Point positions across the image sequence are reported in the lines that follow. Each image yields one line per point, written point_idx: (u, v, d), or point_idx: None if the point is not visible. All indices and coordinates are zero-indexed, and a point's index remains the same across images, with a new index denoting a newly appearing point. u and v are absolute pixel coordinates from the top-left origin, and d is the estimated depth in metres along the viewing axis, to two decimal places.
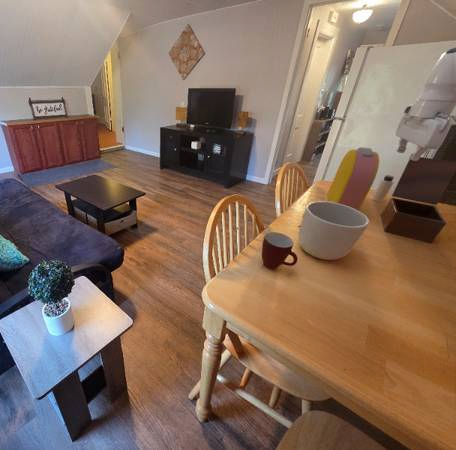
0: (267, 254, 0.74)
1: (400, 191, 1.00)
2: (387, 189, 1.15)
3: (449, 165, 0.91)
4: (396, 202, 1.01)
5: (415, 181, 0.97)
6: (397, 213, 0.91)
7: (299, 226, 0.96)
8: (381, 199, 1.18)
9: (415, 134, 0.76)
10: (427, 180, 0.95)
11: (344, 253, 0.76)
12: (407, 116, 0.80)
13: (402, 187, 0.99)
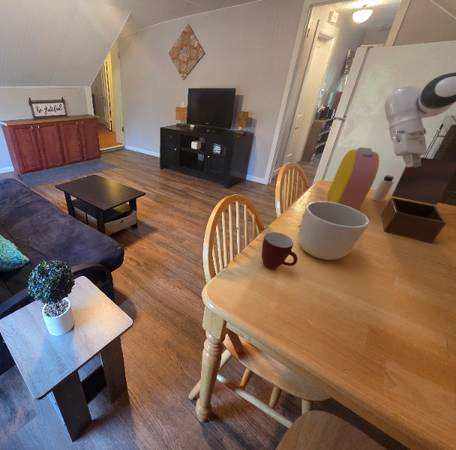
0: (267, 254, 0.74)
1: (400, 191, 1.00)
2: (387, 189, 1.15)
3: (448, 165, 0.91)
4: (396, 202, 1.01)
5: (415, 181, 0.97)
6: (397, 213, 0.91)
7: (299, 226, 0.96)
8: (381, 199, 1.18)
9: None
10: (427, 179, 0.95)
11: (344, 253, 0.76)
12: None
13: (402, 187, 0.99)
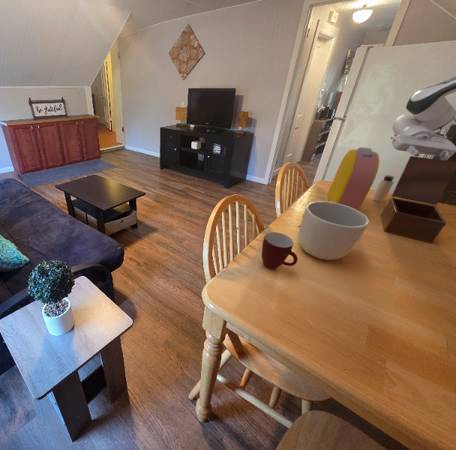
0: (267, 254, 0.74)
1: (400, 191, 1.00)
2: (387, 189, 1.15)
3: (448, 165, 0.92)
4: (396, 202, 1.01)
5: (415, 181, 0.97)
6: (397, 213, 0.91)
7: (299, 226, 0.96)
8: (381, 199, 1.18)
9: None
10: (427, 179, 0.95)
11: (344, 253, 0.76)
12: None
13: (402, 187, 0.99)
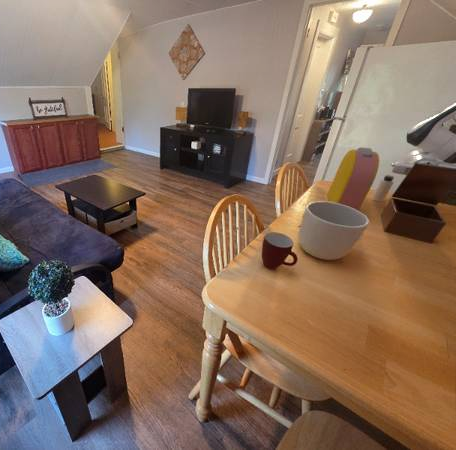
0: (267, 254, 0.74)
1: (400, 193, 0.99)
2: (387, 189, 1.15)
3: (455, 173, 0.85)
4: (396, 202, 1.01)
5: (417, 186, 0.94)
6: (397, 213, 0.91)
7: (299, 226, 0.96)
8: (381, 199, 1.18)
9: None
10: (429, 185, 0.92)
11: (344, 253, 0.76)
12: None
13: (402, 190, 0.97)
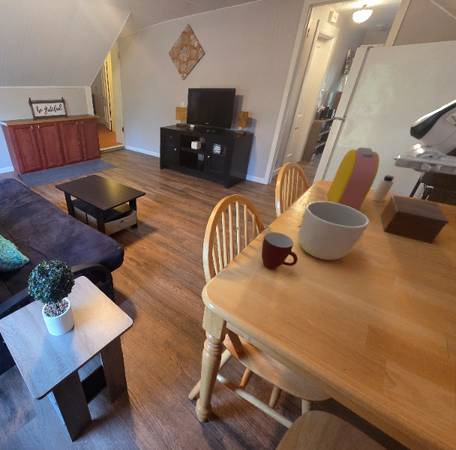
0: (267, 254, 0.74)
1: None
2: (387, 189, 1.15)
3: None
4: None
5: None
6: (397, 213, 0.91)
7: (299, 226, 0.96)
8: (381, 199, 1.18)
9: None
10: None
11: (344, 253, 0.76)
12: None
13: None
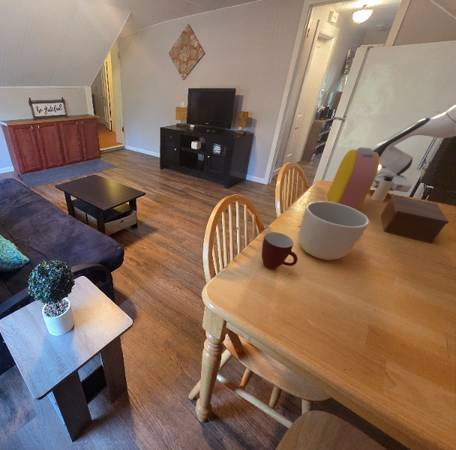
0: (267, 254, 0.74)
1: None
2: (387, 189, 1.15)
3: None
4: None
5: None
6: (397, 213, 0.91)
7: (299, 226, 0.96)
8: (381, 199, 1.18)
9: None
10: None
11: (344, 253, 0.76)
12: None
13: None
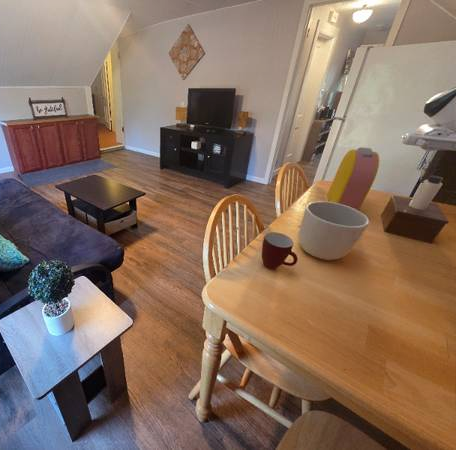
0: (267, 254, 0.74)
1: None
2: (433, 194, 0.87)
3: None
4: None
5: None
6: (397, 213, 0.91)
7: (299, 226, 0.96)
8: (423, 207, 0.90)
9: None
10: None
11: (344, 253, 0.76)
12: (448, 149, 0.98)
13: None
